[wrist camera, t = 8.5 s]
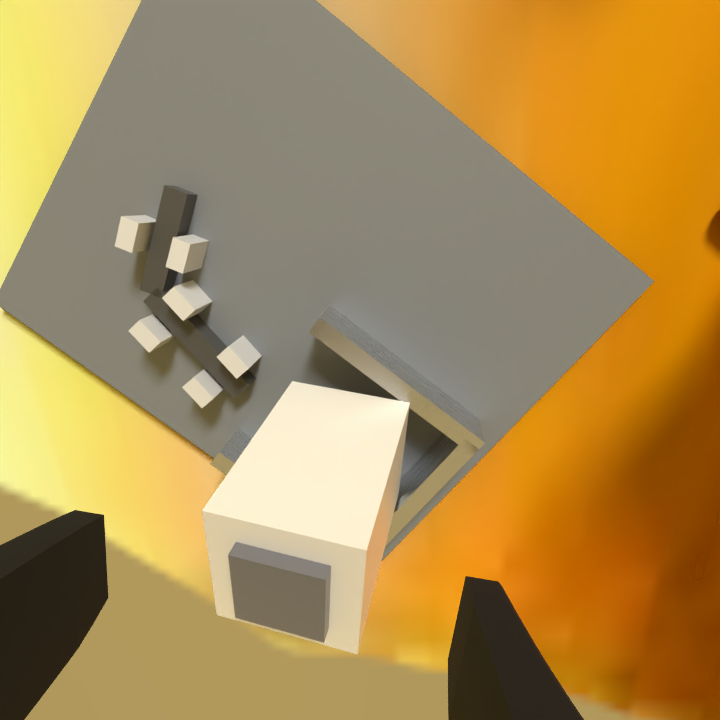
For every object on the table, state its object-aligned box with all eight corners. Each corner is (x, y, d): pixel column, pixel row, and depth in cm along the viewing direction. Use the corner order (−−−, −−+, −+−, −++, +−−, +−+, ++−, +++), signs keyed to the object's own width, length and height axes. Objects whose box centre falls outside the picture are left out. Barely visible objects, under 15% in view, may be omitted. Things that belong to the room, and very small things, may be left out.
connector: (410, 402, 16) (362, 565, 11) (398, 494, 18) (353, 669, 13) (292, 381, 17) (192, 523, 12) (293, 471, 19) (209, 628, 14)
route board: (647, 279, 17) (676, 289, 15) (373, 562, 21) (369, 597, 19) (199, -94, 15) (167, -135, 13) (4, 299, 20) (-41, 310, 18)
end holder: (478, 418, 18) (485, 442, 17) (366, 536, 20) (361, 570, 19) (330, 305, 18) (319, 317, 16) (230, 438, 20) (210, 463, 18)
